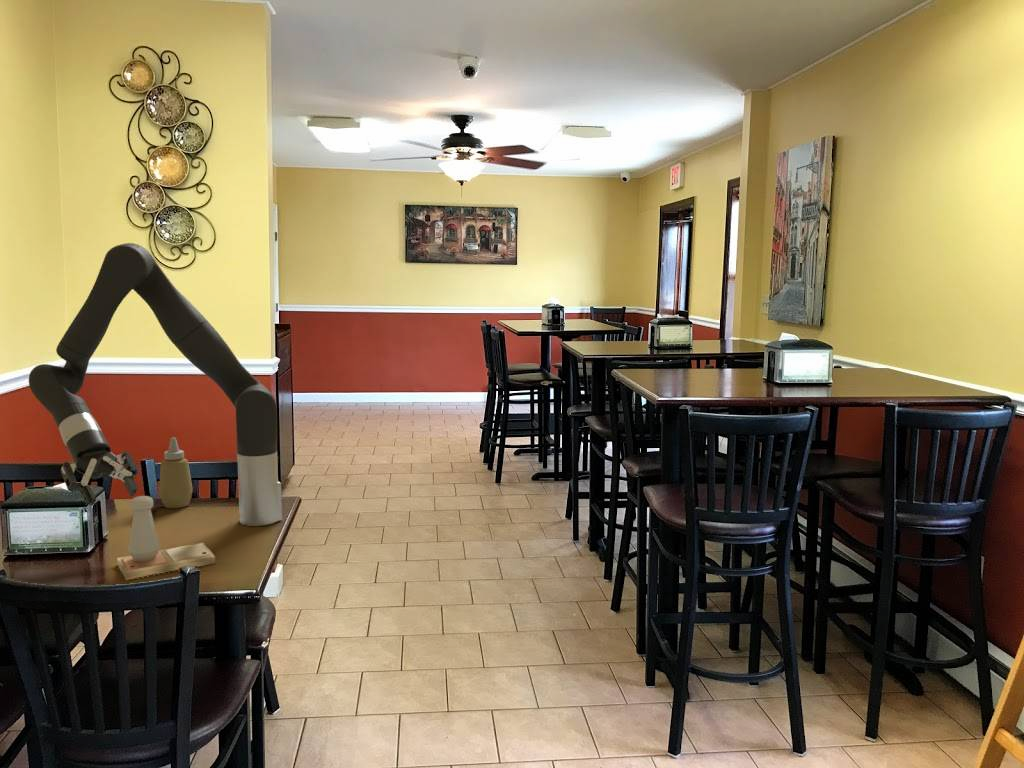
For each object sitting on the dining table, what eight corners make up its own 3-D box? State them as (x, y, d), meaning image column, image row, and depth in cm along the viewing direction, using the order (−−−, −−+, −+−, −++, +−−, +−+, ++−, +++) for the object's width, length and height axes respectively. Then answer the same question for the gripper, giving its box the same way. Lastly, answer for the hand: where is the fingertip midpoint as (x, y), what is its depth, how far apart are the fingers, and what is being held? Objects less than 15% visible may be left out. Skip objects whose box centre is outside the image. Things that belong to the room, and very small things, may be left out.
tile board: (203, 549, 171) (202, 540, 170) (215, 563, 163) (214, 554, 162) (117, 564, 161) (117, 556, 161) (126, 580, 153) (125, 571, 153)
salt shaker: (147, 565, 156) (144, 502, 155) (122, 562, 157) (118, 500, 156) (165, 554, 162) (162, 494, 160) (141, 552, 163) (138, 492, 161)
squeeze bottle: (187, 510, 198) (184, 441, 196) (154, 510, 198) (151, 441, 195) (197, 501, 206) (194, 434, 204) (166, 501, 206) (162, 434, 203)
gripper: (53, 433, 162) (84, 496, 157) (121, 423, 173) (152, 481, 168) (44, 455, 166) (74, 516, 161) (111, 443, 177) (141, 500, 172)
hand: (114, 498), depth 165 cm, fingers open, 8 cm apart
